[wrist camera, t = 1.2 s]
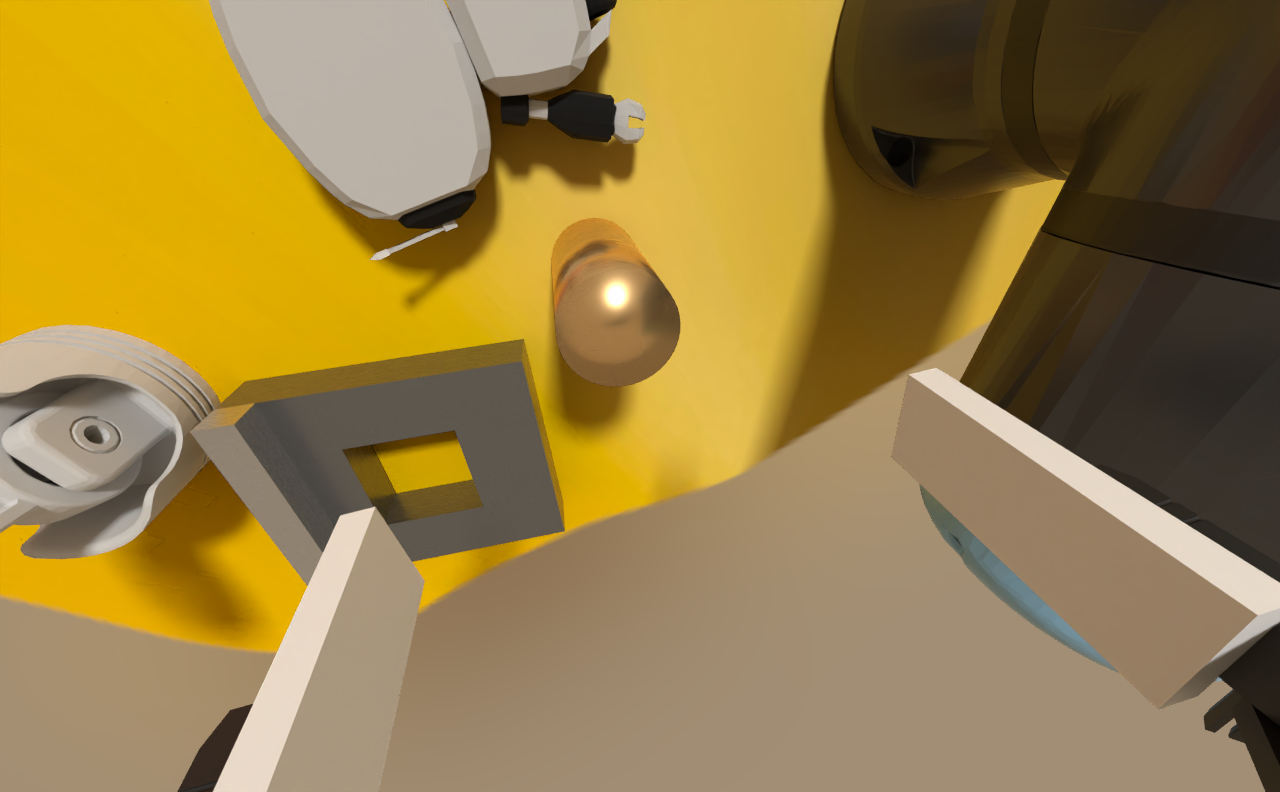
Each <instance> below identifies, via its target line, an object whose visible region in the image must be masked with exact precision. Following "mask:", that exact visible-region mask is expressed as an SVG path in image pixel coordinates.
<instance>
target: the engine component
mask: <svg viewBox="0 0 1280 792" xmlns="http://www.w3.org/2000/svg"><path fill="white" fill-rule="evenodd" d="M220 404H221V403H220V401H219V399H218V397H217V395H216V394H215V392H214V391H213V390H212V388H211V387H210V386H209V384H208V383H207V382H206V381H205V380H204V379H203V378H202V377H201V376H200V375H199V374H198V373H197V372H195V371H194V370H193V369H192V368H190V367H189V366H188V365H187V364H185V363H184V362H183V361H182V360H180V359H178V358H177V357H175V356H174V355H172V354H170V353H169V352H167V351H165V350H163V349H161V348H159V347H157V346H155V345H153V344H151V343H149V342H147V341H144V340H141V339H139V338H136V337H134V336H131V335H128V334H124V333H121V332H118V331H114V330H109V329H103V328H98V327H92V326H77V325H61V326H52V327H44V328H40V329H37V330H34V331H31V332H28V333H25V334H22V335H20V336H18V337H16V338H13V339H11V340H9V341H6V342H4V343H2V344H0V533H1V532H2V531H4V530H5V529H7V528H8V527H10V526H11V525H13V524H14V525H38V524H41V525H40V528H39V529H38V530H37V532H36V533H35V534H34V535H33V536H32V537H31V538H29V539H28V540H27V541H26V542H25V543H24V544H22V547H21V551H22V553H23V554H24V555H26V556H29V557H32V558H45V559H68V558H80V557H86V556H92V555H98V554H101V553H105V552H108V551H111V550H114V549H116V548H119V547H121V546H123V545H125V544H127V543H128V542H130V541H131V540H133V539H134V538H135V537H137V536H138V535H139V534H140V533H141V532H142V531H143V530H144V529H145V528H146V527H147V526H148V525H149V524H150V523H151V522H152V521H153V520H154V518H155V517H156V516H157V515H158V514H159V513H160V512H161V511H162V510H163V509H164V508H165V507H166V506H167V505H168V504H169V503H170V502H171V501H172V500H173V499H174V498H175V496H176V495H177V494H178V493H179V492H180V491H181V490H182V489H183V488H184V487H185V486H186V485H187V484H188V483H189V482H190V481H191V480H192V479H193V478H194V477H195V476H196V474H197V473H198V472H199V471H200V470H201V469H202V468H203V467H204V466H205V465H206V464H207V463H208V462H209V460H211V459H210V458H209V456H208V455H207V454H206V452H205V451H204V450H203V449H202V447H201V446H200V445H199V443H198V442H197V441H196V439H195V438H194V437H193V435H192V434H191V433H190V431H191V430H192V429H193V428H195V427H196V426H197V425H198V424H199V423H200V422H201V421H202V420H203V419H204V418H206V417H207V416H208V415H209V414H210V413H211V412H212V411H213V410H214V409H215V408H217V407H218V406H219V405H220Z"/></svg>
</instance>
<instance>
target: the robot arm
mask: <svg viewBox="0 0 1280 792" xmlns="http://www.w3.org/2000/svg"><path fill="white" fill-rule="evenodd" d="M834 95H835V104H836V111H837V116H838V120H839V125H840V128H841V131H842V134H843V137H844V139H845V142H846V144H847V146H848V148H849V150H850V152H851V154H852V156H853V157H854V159H855V160H856V162H857V163H858V164H859V166H860V167H861V168H862V169H863V170H864V171H865V172H866V174H868V175H869V176H870V177H871V178H872V179H873V180H875V181H876V182H878V183H879V184H881V185H883V186H884V187H886V188H889V189H891V190H893V191H897V192H900V193H904V194H909V195H913V196H918V197H923V198H928V199H936V200H953V199H963V198H968V197H973V196H978V195H983V194H987V193H992V192H997V191H1002V190H1006V189H1011V188H1016V187H1020V186H1025V185H1030V184H1035V183H1039V182H1044V181H1049V180H1053V179H1056V180H1066V181H1065V183H1064V185H1063V187H1062V189H1061V191H1060V193H1059V195H1058V197H1057V199H1056V201H1055V203H1054V205H1053V207H1052V208H1051V210H1050V212H1049V214H1048V216H1047V218H1046V220H1045V222H1044V224H1043V225H1042V226H1041V228H1040V229H1039V231H1038V233H1037V235H1036V237H1035V239H1034V241H1033V243H1032V245H1031V247H1030V248H1029V250H1028V252H1027V254H1026V256H1025V258H1024V260H1023V262H1022V264H1021V266H1020V267H1019V269H1018V271H1017V273H1016V275H1015V277H1014V279H1013V281H1012V283H1011V285H1010V286H1009V288H1008V290H1007V292H1006V294H1005V296H1004V298H1003V300H1002V302H1001V304H1000V305H999V307H998V309H997V311H996V313H995V315H994V317H993V319H992V321H991V323H990V325H989V326H988V328H987V330H986V332H985V334H984V336H983V338H982V340H981V342H980V344H979V345H978V347H977V349H976V351H975V353H974V355H973V357H972V359H971V361H970V363H969V365H968V366H967V368H966V370H965V372H964V374H963V376H962V378H961V380H960V382H958V381H957V380H955V379H954V378H952V377H950V376H949V375H947V374H946V373H944V372H942V371H941V370H939V369H937V368H933V369H929V370H925V371H921V372H917V373H913V374H909V375H908V380H907V385H906V390H905V394H904V399H903V404H902V409H901V414H900V418H899V423H898V428H897V433H896V438H895V442H894V447H893V452H892V456H891V457H892V458H893V459H894V460H895V461H896V462H897V463H899V464H900V465H901V466H902V467H903V468H904V469H905V470H906V471H907V472H908V473H909V474H910V475H911V476H912V477H913V478H914V479H915V480H916V481H918V482H919V484H920V490H921V495H922V498H923V500H924V504H925V506H926V508H927V510H928V513H929V515H930V517H931V519H932V521H933V523H934V524H935V526H936V528H937V529H938V530H939V532H940V534H941V535H942V537H943V538H944V540H945V541H946V542H947V543H948V544H949V545H950V546H951V547H952V548H953V549H954V550H955V551H956V552H957V553H958V554H959V555H960V556H961V558H962V559H963V561H964V564H965V565H966V566H967V568H968V569H969V570H970V571H971V572H972V573H973V574H974V575H975V576H976V577H977V578H978V579H979V580H980V581H981V582H982V583H983V584H984V585H985V586H986V587H987V588H988V589H990V590H991V591H992V592H993V593H994V594H995V595H996V596H997V597H998V598H1000V599H1001V600H1002V601H1003V602H1004V603H1006V604H1007V605H1008V606H1009V607H1010V608H1012V609H1013V610H1014V611H1015V612H1017V613H1018V614H1019V615H1021V616H1022V617H1023V618H1025V619H1026V620H1027V621H1029V622H1030V623H1031V624H1033V625H1034V626H1036V627H1037V628H1039V629H1040V630H1042V631H1043V632H1045V633H1046V634H1048V635H1049V636H1051V637H1052V638H1054V639H1055V640H1057V641H1058V642H1060V643H1062V644H1064V645H1065V646H1067V647H1069V648H1070V649H1072V650H1074V651H1075V652H1077V653H1079V654H1081V655H1083V656H1084V657H1086V658H1088V659H1090V660H1092V661H1094V662H1096V663H1098V664H1100V665H1103V666H1105V667H1107V668H1109V669H1111V670H1114V671H1116V672H1119V673H1120V674H1121V675H1122V676H1123V677H1124V678H1125V679H1126V680H1127V681H1129V682H1130V683H1131V684H1132V685H1133V686H1134V687H1135V688H1136V689H1137V690H1138V691H1139V692H1140V693H1141V694H1142V695H1143V696H1144V697H1145V698H1146V699H1148V700H1149V701H1150V702H1151V703H1152V704H1153V705H1154V706H1155V707H1156V708H1157V709H1161V708H1164V707H1167V706H1170V705H1173V704H1176V703H1179V702H1182V701H1184V700H1187V699H1190V698H1193V697H1196V696H1198V695H1199V694H1200V693H1201V692H1203V691H1204V690H1205V689H1206V688H1207V687H1208V686H1209V685H1211V684H1212V683H1213V682H1214V681H1224V682H1225V683H1227V684H1228V685H1229V686H1230V687H1232V688H1233V690H1232V691H1230V693H1228V694H1227V695H1226V696H1224V697H1223V698H1222V699H1221V700H1220V701H1218V702H1217V703H1216V704H1215V705H1214V706H1213V707H1211V708H1210V709H1209V711H1208V712H1207V713H1206V714H1205V716H1204V723H1205V729H1206V730H1208V731H1211V732H1214V733H1215V732H1216V731H1218V730H1219V729H1220V728H1221V727H1223V726H1224V725H1225V724H1227V723H1228V722H1229V721H1231V720H1232V719H1233V718H1235V720H1236V723H1237V725H1235V726H1234V727H1232V728H1231V731H1230V733H1229V738H1232V739H1235V740H1238V741H1240V742H1243V743H1245V744H1246V746H1247V749H1248V751H1249V753H1250V756H1251V758H1252V761H1253V763H1254V765H1255V767H1256V770H1257V772H1258V775H1259V777H1260V780H1261V782H1262V784H1263V787H1264V789H1265V792H1280V0H846V3H845V6H844V10H843V14H842V18H841V22H840V27H839V32H838V37H837V44H836V50H835V61H834ZM423 586H424V579H423V578H422V576H421V575H420V573H419V572H418V570H417V569H416V567H415V566H414V564H413V563H412V561H411V560H410V558H409V557H408V555H407V554H406V552H405V551H404V549H403V548H402V546H401V545H400V543H399V542H398V540H397V539H396V537H395V536H394V534H393V533H392V531H391V530H390V528H389V527H388V525H387V523H386V522H385V520H384V519H383V517H382V516H381V514H380V513H379V511H378V510H377V508H376V507H372V508H368V509H364V510H360V511H356V512H352V513H348V514H344V515H340V517H339V519H338V521H337V524H336V526H335V528H334V530H333V532H332V534H331V537H330V539H329V541H328V543H327V545H326V547H325V550H324V552H323V554H322V556H321V558H320V561H319V563H318V565H317V567H316V569H315V571H314V574H313V576H312V578H311V580H310V582H309V584H308V587H307V589H306V591H305V593H304V595H303V597H302V600H301V602H300V604H299V606H298V608H297V610H296V613H295V615H294V617H293V619H292V621H291V623H290V626H289V628H288V630H287V632H286V634H285V636H284V639H283V641H282V643H281V645H280V647H279V649H278V652H277V654H276V656H275V658H274V660H273V663H272V665H271V667H270V669H269V671H268V673H267V676H266V678H265V680H264V682H263V684H262V686H261V689H260V691H259V693H258V695H257V697H256V700H255V702H254V704H251V705H247V706H244V707H240V708H236V709H233V710H230V711H229V713H228V714H227V715H226V716H225V718H224V719H223V720H222V722H221V723H220V724H219V725H218V726H217V728H216V729H215V730H214V731H213V733H212V734H211V735H210V736H209V738H208V739H207V740H206V742H205V743H204V744H203V745H202V747H201V748H200V749H199V751H198V753H197V755H196V757H195V759H194V761H193V762H192V765H191V766H190V768H189V770H188V772H187V774H186V776H185V778H184V780H183V782H182V784H181V786H180V788H179V790H178V792H379V788H380V783H381V779H382V774H383V770H384V765H385V760H386V756H387V751H388V746H389V742H390V737H391V732H392V728H393V724H394V719H395V714H396V710H397V704H398V700H399V696H400V691H401V687H402V682H403V678H404V673H405V668H406V664H407V659H408V654H409V650H410V645H411V640H412V636H413V632H414V627H415V622H416V618H417V613H418V609H419V604H420V599H421V595H422V590H423Z"/></svg>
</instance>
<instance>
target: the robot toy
mask: <svg viewBox="0 0 1280 792" xmlns="http://www.w3.org/2000/svg"><path fill="white" fill-rule="evenodd" d="M446 1H447V4H448V6H449V8H450V11H451V13H452V15H453V17H452V15H451V13H450V11H449V10H448V8H447V6H446V4H445V3H444V1H443V0H209V2H210V5H211V9H212V12H213V16H214V18H215V21H216V23H217V26H218V28H219V31H220V33H221V35H222V38H223V40H224V43H225V45H226V48H227V50H228V53H229V55H230V57H231V59H232V61H233V62H234V64H235V66H236V68H237V70H238V72H239V74H240V76H241V78H242V80H243V82H244V84H245V86H246V87H247V89H248V91H249V93H250V95H251V97H252V99H253V101H254V103H255V105H256V107H257V109H258V111H259V112H260V114H261V116H262V118H263V120H264V121H265V122H266V123H267V124H268V125H269V127H270V128H271V129H272V130H273V131H274V132H275V134H276V135H277V136H278V137H279V138H280V139H281V140H282V142H283V143H284V144H285V145H286V146H287V147H288V149H289V150H290V151H291V152H292V153H293V154H294V156H295V157H296V158H297V159H298V160H299V161H300V163H301V164H302V165H303V166H304V167H305V168H306V170H307V171H308V172H309V173H310V174H311V175H312V176H313V177H315V178H316V179H317V180H318V181H319V182H320V183H321V184H322V185H323V186H324V187H325V188H326V189H327V190H328V191H329V192H330V193H331V194H332V195H334V196H335V197H336V198H337V199H339V200H340V201H341V202H342V203H344V204H345V205H347V206H349V207H351V208H352V209H354V210H356V211H358V212H360V213H361V214H363V215H365V216H367V217H369V218H373V219H389V220H398V221H399V222H400V223H401V224H402V225H403V226H405V227H406V228H420V229H429V228H435V227H437V226H439V227H437V228H435V229H433V230H430V231H428V232H426V233H423V234H421V235H419V236H417V237H414V238H412V239H410V240H407V241H405V242H403V243H401V244H398V245H396V246H394V247H391V248H389V249H384V250H382V251H380V252H377V253H376V254H375V255H374V256H373V257H372V258H371V259H370V260H380V259H383V258H385V257H387V256H389V255H390V254H391V253H393V252H396V251H398V250H400V249H403V248H405V247H407V246H409V245H412V244H414V243H416V242H418V241H421V240H423V239H425V238H427V237H430V236H432V235H434V234H437V233H439V232H441V231H443V230H444V231H446V232H447V231H449V230H451V229H454V228H456V227H458V225H457V223H456V221H455V219H457V218H460V217H461V216H462V215H463V214H464V213H465V212H466V211H467V210H468V209H469V207H470V206H471V205H472V204H473V202H474V201H475V199H476V191H475V187H476V185H477V184H478V183H479V182H480V180H481V179H482V178H483V176H484V175H485V174H486V173H487V171H488V167H489V160H490V153H491V146H492V144H491V130H490V125H489V119H488V114H487V108H486V103H485V100H484V96H483V93H482V89H481V86H480V83H479V79H478V76H479V78H480V80H481V83H482V85H483V86H484V87H485V88H487V89H488V90H489V91H491V92H492V93H494V94H495V95H496V96H498V97H499V98H501V120H502V123H503V124H511V125H519V126H525V125H526V124H527V123H528V121H529V118H534V119H541V120H547V121H549V122H550V123H551V124H553V125H554V126H555V127H557V128H558V129H560V130H561V131H563V132H564V133H566V134H567V135H569V136H570V137H572V138H576V139H584V140H592V141H600V142H609V140H610V139H611V136H614V137H615V138H616V139H618V140H619V141H620V142H622V143H623V144H630V143H637V142H638V141H639V140H640V139H641V137H642V136H643V134H644V128H638V129H637V128H628V120H629V117H633V118H638V119H640V120H642V121H643V120H645V115H646V114H645V111H644V109H643V107H642V105H641V104H640V103H638V102H635V101H633V100H631V99H629V98H627V99H625V100H623V101H620V102H618V103H616V104H614V99H613V97H612V96H611V95H605V94H599V93H592V92H586V91H579V90H572V91H569V92H567V93H564V94H562V95H559V96H557V97H555V98H553V99H550V100H548V101H543V100H536V99H530V98H529V96H532V95H538V94H542V93H546V92H550V91H554V90H558V89H562V88H564V87H565V86H567V85H568V84H569V83H570V82H571V81H572V80H574V79H575V78H576V77H577V76H578V75H579V74H580V73H581V72H582V71H583V70H584V67H585V65H586V62H587V60H588V57H589V55H590V54H591V53H592V52H593V51H594V50H595V49H596V48H597V47H598V46H599V45H600V44H601V43H602V42H603V41H604V40H605V39H606V38H607V37H608V36H609V31H610V20H611V10H612V9H613V8H614V7H615V5H616V2H617V0H446ZM606 13H607V14H606ZM604 14H606V15H605V16H604V17H603V18H602V19H601V20H600V21H599V22H598V23H597V24H596V25H595V26H594V28H593V29H592V30H591V26H590V21H589V20H592V19H595V18H597V17H600V16H602V15H604ZM476 71H477V72H476ZM477 73H478V76H477ZM440 225H442V226H440Z"/></svg>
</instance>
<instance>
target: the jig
mask: <svg viewBox="0 0 1280 792" xmlns="http://www.w3.org/2000/svg"><path fill="white" fill-rule="evenodd" d="M453 430H455V432H456V435H457V438H458V440H459V443H460V446H461V448H462V451H463V454H464V456H465V459H466V462H467V464H468V467H469V470H470V472H471V475H472V478H473V480H468V481H463V482H457V483H452V484H446V485H441V486H436V487H430V488H425V489H419V490H414V491H408V492H403V493H397V494H396V492H395V490H394V488H393V486H392V484H391V483H390V481H389V479H388V477H387V475H386V473H385V471H384V469H383V467H382V465H381V463H380V461H379V459H378V457H377V455H376V453H375V451H374V449H373V447H372V445H371V444H377V443H383V442H389V441H395V440H401V439H407V438H412V437H418V436H424V435H430V434H436V433H442V432H448V431H453ZM190 433H191V434H192V435H193V437H194V438H195V439H196V441H197V442H198V443H199V445H200V446H201V447H202V449H203V450H204V451H205V452H206V454H207V455H208V456H209V458H210V459H211V460H212V462H213V463H214V464H215V466H216V467H217V468H218V469H219V471H220V472H221V473H222V475H223V476H224V477H225V479H226V480H227V481H228V483H229V484H230V485H231V486H232V488H233V489H234V490H235V492H236V493H237V494H238V496H239V497H240V498H241V500H242V501H243V502H244V503H245V505H246V506H247V507H248V509H249V510H250V511H251V513H252V514H253V515H254V517H255V518H256V519H257V520H258V522H259V523H260V524H261V526H262V527H263V528H264V530H265V531H266V532H267V534H268V535H269V536H270V537H271V539H272V540H273V541H274V543H275V544H276V545H277V547H278V548H279V549H280V551H281V552H282V553H283V554H284V556H285V557H286V558H287V560H288V561H289V562H290V564H291V565H292V566H293V568H294V569H295V570H296V571H297V573H298V574H299V575H300V577H301V578H302V579H303V581H304V582H305V583H306V585H307V586H308V584H309V582H310V580H311V578H312V576H313V574H314V571H315V569H316V567H317V565H318V563H319V561H320V558H321V556H322V554H323V552H324V550H325V547H326V545H327V543H328V541H329V539H330V537H331V534H332V532H333V530H334V528H335V526H336V524H337V521H338V519H339V517H340V515H344V514H348V513H352V512H356V511H360V510H364V509H368V508H372V507H376V508H377V510H378V511H379V513H380V514H381V516H382V517H383V519H384V520H385V522H386V523H387V525H388V527H389V528H390V530H391V531H392V533H393V534H394V536H395V537H396V539H397V540H398V542H399V543H400V545H401V546H402V548H403V549H404V551H405V552H406V554H407V555H408V557H409V558H410V560H411V561H417V560H422V559H427V558H432V557H437V556H442V555H447V554H452V553H457V552H462V551H467V550H472V549H477V548H482V547H488V546H493V545H498V544H503V543H508V542H513V541H518V540H523V539H528V538H533V537H538V536H543V535H548V534H553V533H558V532H563V531H565V528H564V510H563V499H562V495H561V491H560V487H559V483H558V479H557V475H556V471H555V467H554V462H553V458H552V454H551V450H550V446H549V442H548V438H547V434H546V429H545V425H544V421H543V417H542V413H541V409H540V405H539V401H538V396H537V392H536V388H535V384H534V380H533V376H532V372H531V368H530V363H529V359H528V355H527V351H526V347H525V343H524V339H522V340H515V341H509V342H502V343H495V344H489V345H482V346H476V347H469V348H463V349H456V350H449V351H443V352H436V353H430V354H423V355H417V356H410V357H403V358H397V359H390V360H384V361H377V362H371V363H364V364H357V365H351V366H344V367H338V368H331V369H325V370H318V371H311V372H305V373H298V374H292V375H285V376H279V377H272V378H265V379H259V380H252V381H246V382H244V383H243V384H242V385H241V386H240V387H239V388H238V389H236V390H235V391H234V392H233V393H232V394H231V395H230V396H229V397H228V398H226V399H225V400H224V401H223V402H222V403H221V404H220V405H219V406H218V407H217V408H215V409H214V410H213V411H212V412H211V413H210V414H209V415H208V416H207V417H206V418H204V419H203V420H202V421H201V422H200V423H199V424H198V425H197V426H196V427H195V428H193V429H192V430H191V431H190Z"/></svg>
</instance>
